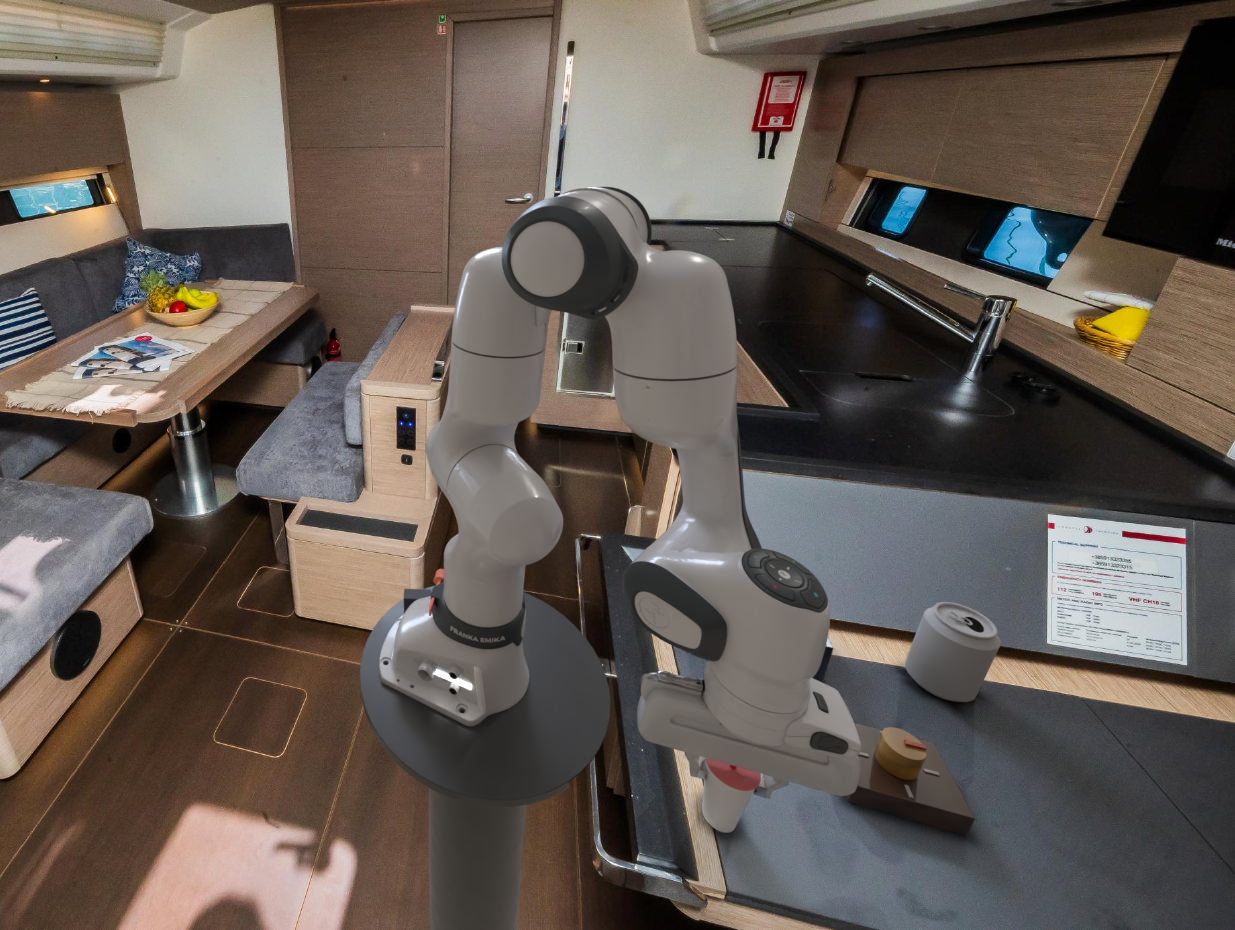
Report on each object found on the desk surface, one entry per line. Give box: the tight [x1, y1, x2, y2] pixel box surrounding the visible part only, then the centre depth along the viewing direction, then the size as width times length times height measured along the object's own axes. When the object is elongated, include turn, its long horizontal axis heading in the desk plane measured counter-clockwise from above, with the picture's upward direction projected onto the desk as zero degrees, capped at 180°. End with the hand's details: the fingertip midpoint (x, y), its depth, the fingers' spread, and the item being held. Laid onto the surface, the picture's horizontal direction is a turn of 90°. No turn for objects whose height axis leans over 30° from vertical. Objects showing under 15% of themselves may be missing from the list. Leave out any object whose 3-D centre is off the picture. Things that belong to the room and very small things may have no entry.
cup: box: [701, 758, 761, 834], centre depth 65 cm, size 5×5×12 cm
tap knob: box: [874, 726, 927, 780], centre depth 68 cm, size 4×4×4 cm
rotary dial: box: [845, 722, 976, 836], centre depth 69 cm, size 11×9×3 cm
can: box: [904, 601, 1002, 703], centre depth 79 cm, size 8×8×12 cm
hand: (728, 781), depth 65 cm, fingers closed on cup, 5 cm apart
